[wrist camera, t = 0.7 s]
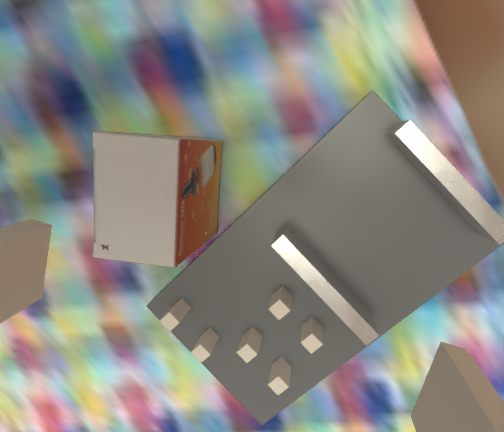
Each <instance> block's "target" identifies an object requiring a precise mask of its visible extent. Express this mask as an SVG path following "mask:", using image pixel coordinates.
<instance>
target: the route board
mask: <svg viewBox="0 0 504 432" xmlns="http://www.w3.org/2000/svg"><path fill="white" fill-rule="evenodd" d="M400 122H402V121H401V120H400V119H399V117H398V116H397V115H396V114H395V113H394V112H393V111H392V110H391V109H390V108H389V107H388V106H387V105H386V104H385V102H384V101H383V100H382V99H381V98H380V97H379V96H378V95H377V94H376V93H375V92H374V91H372V92H371V93H370V94H368V95H367V96H366V97H365V98H364V99H363V100H362V101H361V102H360V103H359V104H358V105H357V106H356V107H355V108H354V109H353V110H352V111H351V112H350V113H349V114H348V115H346V116H345V117H344V118H343V119H342V120H341V121H340V122H339V123H338V124H337V125H336V126H335V127H334V128H333V129H332V130H331V131H330V132H329V133H328V134H327V135H325V136H324V137H323V138H322V139H321V140H320V141H319V142H318V143H317V144H316V145H315V146H314V147H313V148H312V149H311V150H310V151H309V152H308V153H307V154H306V155H304V156H303V157H302V158H301V159H300V160H299V161H298V162H297V163H296V164H295V165H294V166H293V167H292V168H291V169H290V170H289V171H288V172H287V173H286V174H285V175H283V176H282V177H281V178H280V179H279V180H278V181H277V182H276V183H275V184H274V185H273V186H272V187H271V188H270V189H269V190H268V191H267V192H266V193H265V194H264V195H262V196H261V197H260V198H259V199H258V200H257V201H256V202H255V203H254V204H253V205H252V206H251V207H250V208H249V209H248V210H247V211H246V212H245V213H244V214H243V215H242V216H240V217H239V218H238V219H237V220H236V221H235V222H234V223H233V224H232V225H231V226H230V227H229V228H228V229H227V230H226V231H225V232H224V233H223V234H222V235H221V236H219V237H218V238H217V239H216V240H215V241H214V242H213V243H212V244H211V245H210V246H209V247H208V248H207V249H206V250H205V251H204V252H203V253H202V254H201V255H200V256H198V257H197V258H196V259H195V260H194V261H193V262H192V263H191V264H190V265H189V266H188V267H187V268H186V269H185V270H184V271H183V272H182V273H181V274H180V275H179V276H177V277H176V278H175V279H174V280H173V281H172V282H171V283H170V284H169V285H168V286H167V287H166V288H165V289H164V290H163V291H162V292H161V293H160V294H159V295H158V296H156V297H155V298H154V299H153V300H152V301H151V302H150V303H149V304H148V305H147V307H148V308H149V309H150V310H151V311H152V312H153V313H154V315H155V316H156V317H157V318H158V319H159V320H160V322H161V323H162V324H163V325H164V326H165V327H166V328H167V329H168V330H169V331H171V332H172V333H173V334H174V335H175V336H176V337H177V338H178V339H179V340H180V341H181V342H182V343H183V344H184V345H185V347H186V348H187V349H188V350H189V351H190V352H191V354H192V355H193V356H194V357H195V358H196V359H197V360H198V361H199V362H200V363H202V364H203V365H204V366H205V367H206V368H207V369H208V370H209V371H210V372H211V373H212V374H213V375H214V376H215V377H216V379H217V380H218V381H219V382H220V383H221V384H222V385H223V386H224V387H225V388H226V389H227V390H228V391H229V392H230V393H231V394H232V395H233V396H234V397H235V398H236V399H237V400H238V401H239V402H240V403H241V404H242V405H243V406H244V407H245V408H246V409H247V411H248V412H249V413H250V414H251V415H252V416H253V417H254V418H255V419H256V420H257V421H258V422H259V423H260V424H261V425H263V424H264V423H266V422H267V421H268V420H270V419H271V418H272V417H274V416H275V415H276V414H278V413H279V412H280V411H282V410H283V409H284V408H286V407H287V406H288V405H290V404H291V403H292V402H294V401H295V400H296V399H298V398H299V397H300V396H302V395H303V394H304V393H306V392H307V391H308V390H310V389H311V388H312V387H314V386H315V385H316V384H318V383H319V382H320V381H322V380H323V379H324V378H325V377H327V376H328V375H329V374H331V373H332V372H333V371H335V370H336V369H337V368H339V367H340V366H341V365H343V364H344V363H345V362H347V361H348V360H349V359H351V358H352V357H353V356H355V355H356V354H357V353H359V352H360V351H361V350H363V349H364V348H365V347H367V346H368V345H369V344H371V343H372V342H373V341H375V340H376V339H377V338H379V337H380V336H381V335H383V334H384V333H385V332H387V331H388V330H389V329H391V328H392V327H393V326H395V325H396V324H397V323H399V322H400V321H401V320H402V319H404V318H405V317H406V316H408V315H409V314H410V313H412V312H413V311H414V310H416V309H417V308H418V307H420V306H421V305H422V304H424V303H425V302H426V301H428V300H429V299H430V298H432V297H433V296H434V295H436V294H437V293H438V292H440V291H441V290H442V289H444V288H445V287H446V286H448V285H449V284H450V283H452V282H453V281H454V280H456V279H457V278H458V277H460V276H461V275H462V274H464V273H465V272H466V271H468V270H469V269H470V268H472V267H473V266H474V265H475V264H477V263H478V262H479V261H481V260H482V259H483V258H485V257H486V256H487V255H489V254H490V253H491V252H493V251H494V250H495V249H497V248H498V247H499V246H501V245H502V244H503V243H504V242H503V243H502V244H501V245H499V244H497V243H495V242H493V241H492V240H490V239H488V238H486V237H485V236H483V235H481V234H479V233H477V232H476V231H475V230H474V229H473V228H472V227H471V226H470V225H469V224H468V223H467V222H466V221H465V220H464V218H463V217H462V216H461V215H460V214H459V213H458V212H457V211H456V210H455V209H454V208H453V207H452V206H451V205H450V204H449V202H448V201H447V200H446V199H445V198H444V197H443V196H442V195H441V194H440V193H439V192H438V191H437V190H436V189H435V188H434V186H433V185H432V184H431V183H430V182H429V181H428V180H427V179H426V178H425V177H424V176H423V175H422V174H421V173H420V172H419V170H418V169H417V168H416V167H415V166H414V165H413V164H412V163H411V162H410V161H409V160H408V159H407V158H406V157H405V156H404V155H403V153H402V152H401V151H400V150H399V149H398V148H397V147H396V146H395V145H394V144H393V143H392V142H391V141H390V140H389V139H388V137H387V136H386V135H385V134H386V133H387V132H388V131H389V130H390V129H392V128H393V127H394V126H395V125H396V124H397V123H400ZM286 224H288V225H289V226H290V227H291V228H292V229H293V230H294V231H295V232H296V233H297V234H298V235H299V236H300V237H301V238H302V239H303V240H304V241H305V242H306V244H307V245H308V246H309V247H310V248H311V249H312V250H313V251H314V252H315V253H316V254H317V255H318V256H319V257H320V258H321V259H322V260H323V261H324V262H325V263H326V265H327V266H328V267H329V268H330V269H331V270H332V271H333V272H334V273H335V274H336V275H337V276H338V277H339V278H340V279H341V280H342V281H343V282H344V283H345V284H346V286H347V287H348V288H349V289H350V290H351V291H352V292H353V293H354V294H355V295H356V296H357V297H358V298H359V299H360V300H361V301H362V302H363V303H364V304H365V306H366V307H367V308H368V309H369V310H370V311H371V312H372V314H373V317H374V320H375V323H376V327H377V330H378V333H379V337H377V338H376V339H375V340H373V341H372V342H371V343H369V344H368V345H367V346H366V345H365V344H364V343H363V342H362V341H361V339H360V338H359V337H358V336H357V335H356V334H355V333H354V332H353V331H352V330H351V329H350V328H349V327H348V326H347V325H346V324H345V323H344V322H343V321H342V320H341V319H340V317H339V316H338V315H337V314H336V313H335V312H334V311H333V310H332V309H331V308H330V307H329V306H328V305H327V304H326V303H325V302H324V301H323V300H322V299H321V298H320V297H319V295H318V294H317V293H316V292H315V291H314V290H313V289H312V288H311V287H310V286H309V285H308V284H307V283H306V282H305V281H304V280H303V279H302V278H301V277H300V276H299V275H298V273H297V272H296V271H295V270H294V269H293V268H292V267H291V266H290V265H289V264H288V263H287V262H286V261H285V260H284V259H283V258H282V257H281V256H280V255H279V254H278V253H277V251H276V250H275V249H274V248H273V247H272V246H271V244H272V242H273V240H274V238H275V235H276V233H277V232H278V231H279V230H280V229H282V228H283V227H284V226H285V225H286Z"/></svg>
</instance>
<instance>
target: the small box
mask: <svg viewBox="0 0 504 432" xmlns="http://www.w3.org/2000/svg"><path fill="white" fill-rule="evenodd" d="M92 138H93V156H94V239H93V257H94V258H102V259H110V260H118V261H126V262H134V263H142V264H150V265H158V266H167V267H176V266H177V265H179V264H180V263H181V262H182V261H183V260H185V259H186V258H187V257H188V256H190V255H191V254H192V253H193V252H194V251H196V250H197V249H198V248H199V247H200V246H202V245H203V244H204V243H205V242H207V241H208V240H209V239H210V238H211V237H213V236H214V235H215V234H216V233H217V232H218V205H219V189H220V175H221V159H222V141H221V140H214V139H206V138H195V137H182V136H166V135H151V134H136V133H120V132H105V131H94V132H93V133H92Z"/></svg>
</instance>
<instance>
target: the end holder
mask: <svg viewBox="0 0 504 432" xmlns="http://www.w3.org/2000/svg"><path fill="white" fill-rule="evenodd" d="M385 135H386V136H387V137H388V139H389V140H390V141H391V142H392V143H393V144H394V145H395V146H396V147H397V148H398V149H399V150H400V151H401V152H402V153H403V155H404V156H405V157H406V158H407V159H408V160H409V161H410V162H411V163H412V164H413V165H414V166H415V167H416V168H417V169H418V170H419V172H420V173H421V174H422V175H423V176H424V177H425V178H426V179H427V180H428V181H429V182H430V183H431V184H432V185H433V186H434V188H435V189H436V190H437V191H438V192H439V193H440V194H441V195H442V196H443V197H444V198H445V199H446V200H447V201H448V202H449V204H450V205H451V206H452V207H453V208H454V209H455V210H456V211H457V212H458V213H459V214H460V215H461V216H462V217H463V218H464V220H465V221H466V222H467V223H468V224H469V225H470V226H471V227H472V228H473V229H474V230H475V231H476V232H477V233H479V234H481V235H483V236H485V237H486V238H488V239H490V240H492V241H493V242H495V243H497V244H499V245H501V244H502V243H503V242H504V220H503V219H502V218H501V217H500V216H499V215H498V214H497V212H496V211H495V210H494V209H493V208H492V207H491V206H490V205H489V204H488V203H487V202H486V201H485V200H484V199H483V198H482V196H481V195H480V194H479V193H478V192H477V191H476V190H475V189H474V188H473V187H472V186H471V185H470V184H469V183H468V181H467V180H466V179H465V178H464V177H463V176H462V175H461V174H460V173H459V172H458V171H457V170H456V169H455V168H454V167H453V165H452V164H451V163H450V162H449V161H448V160H447V159H446V158H445V157H444V156H443V155H442V154H441V153H440V152H439V150H438V149H437V148H436V147H435V146H434V145H433V144H432V143H431V142H430V141H429V140H428V139H427V138H426V137H425V135H424V134H423V133H422V132H421V131H420V130H419V129H418V128H417V127H416V126H415V125H414V124H413V123H412V122H411V121H410V120H408V121H404V122H400V123H397V124H396V125H395V126H394V127H393V128H392V129H390V130H389V131H388V132H387V133H386V134H385ZM271 246H272V247H273V248H274V249H275V250H276V251H277V253H278V254H279V255H280V256H281V257H282V258H283V259H284V260H285V261H286V262H287V263H288V264H289V265H290V266H291V267H292V268H293V269H294V270H295V271H296V272H297V273H298V275H299V276H300V277H301V278H302V279H303V280H304V281H305V282H306V283H307V284H308V285H309V286H310V287H311V288H312V289H313V290H314V291H315V292H316V293H317V294H318V295H319V297H320V298H321V299H322V300H323V301H324V302H325V303H326V304H327V305H328V306H329V307H330V308H331V309H332V310H333V311H334V312H335V313H336V314H337V315H338V316H339V317H340V319H341V320H342V321H343V322H344V323H345V324H346V325H347V326H348V327H349V328H350V329H351V330H352V331H353V332H354V333H355V334H356V335H357V336H358V337H359V338H360V339H361V341H362V342H363V343H364V344H365V345H366V346H367V345H368V344H369V343H371V342H372V341H373V340H375V339H376V338H377V337H379V333H378V330H377V327H376V323H375V320H374V317H373V314H372V312H371V311H370V310H369V309H368V308H367V307H366V306H365V304H364V303H363V302H362V301H361V300H360V299H359V298H358V297H357V296H356V295H355V294H354V293H353V292H352V291H351V290H350V289H349V288H348V287H347V286H346V284H345V283H344V282H343V281H342V280H341V279H340V278H339V277H338V276H337V275H336V274H335V273H334V272H333V271H332V270H331V269H330V268H329V267H328V266H327V265H326V263H325V262H324V261H323V260H322V259H321V258H320V257H319V256H318V255H317V254H316V253H315V252H314V251H313V250H312V249H311V248H310V247H309V246H308V245H307V244H306V242H305V241H304V240H303V239H302V238H301V237H300V236H299V235H298V234H297V233H296V232H295V231H294V230H293V229H292V228H291V227H290V226H289V225H288V224H286V225H285V226H284V227H283V228H282V229H280V230H279V231H278V232H277V233H276V235H275V238H274V240H273V242H272V244H271Z"/></svg>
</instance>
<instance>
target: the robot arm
mask: <svg viewBox="0 0 504 432" xmlns="http://www.w3.org/2000/svg"><path fill="white" fill-rule="evenodd" d="M51 226H52V225H49V224H46V223H43V222H39V221H36V220H33V219H30V220H26V221H23V222H20V223H16V224H13V225H9V226H6V227H3V228H0V323H1V322H3V321H4V320H6V319H8V318H9V317H11V316H13V315H14V314H16V313H18V312H19V311H21V310H23V309H24V308H26V307H28V306H29V305H31V304H33V303H34V302H36V301H38V300H39V299H41V298H42V293H43V286H44V279H45V271H46V264H47V256H48V249H49V241H50V234H51ZM411 418H412V421H413V424H414V426H415V429H416V432H504V401H503V400H502V398H501V397H500V396H499V394H498V393H497V391H496V390H495V389H494V387H493V386H492V384H491V383H490V382H489V380H488V379H487V378H486V376H485V375H484V373H483V372H482V371H481V369H480V368H479V366H478V365H477V364H476V362H475V361H474V359H473V358H472V357H471V355H470V354H469V352H468V351H467V350H466V349H464V348H461V347H457V346H454V345H451V344H447V343H444V342H441V343H440V345H439V348H438V350H437V352H436V355H435V357H434V360H433V362H432V365H431V367H430V370H429V372H428V375H427V377H426V379H425V382H424V384H423V387H422V389H421V392H420V394H419V397H418V399H417V402H416V404H415V407H414V409H413V411H412V414H411Z"/></svg>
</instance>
